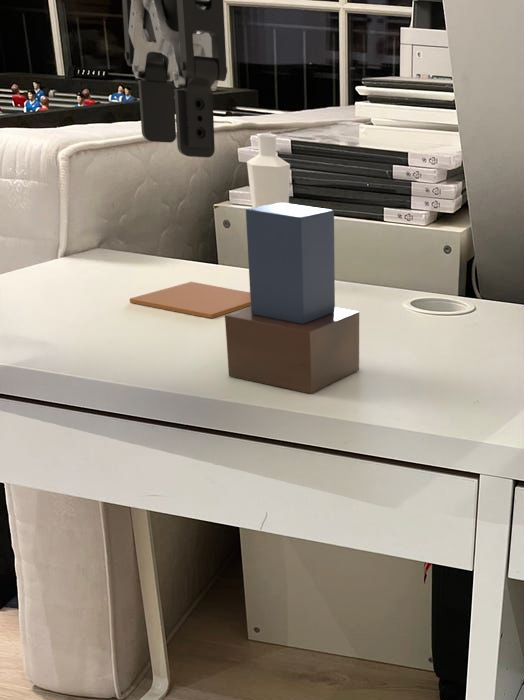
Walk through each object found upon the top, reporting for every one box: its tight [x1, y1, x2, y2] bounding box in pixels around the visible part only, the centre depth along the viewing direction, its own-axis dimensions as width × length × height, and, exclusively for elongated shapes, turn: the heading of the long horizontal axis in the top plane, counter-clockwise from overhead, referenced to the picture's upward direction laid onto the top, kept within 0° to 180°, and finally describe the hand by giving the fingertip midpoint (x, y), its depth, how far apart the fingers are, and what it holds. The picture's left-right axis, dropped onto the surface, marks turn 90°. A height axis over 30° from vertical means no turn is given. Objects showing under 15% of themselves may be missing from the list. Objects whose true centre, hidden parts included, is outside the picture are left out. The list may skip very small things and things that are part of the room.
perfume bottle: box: [246, 133, 291, 208], centre depth 107 cm, size 5×4×15 cm
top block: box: [245, 202, 336, 324], centre depth 79 cm, size 5×5×8 cm
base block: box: [224, 306, 360, 395], centre depth 82 cm, size 8×8×5 cm
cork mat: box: [129, 281, 251, 319], centre depth 102 cm, size 10×10×1 cm
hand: (177, 148), depth 66 cm, fingers open, 8 cm apart
